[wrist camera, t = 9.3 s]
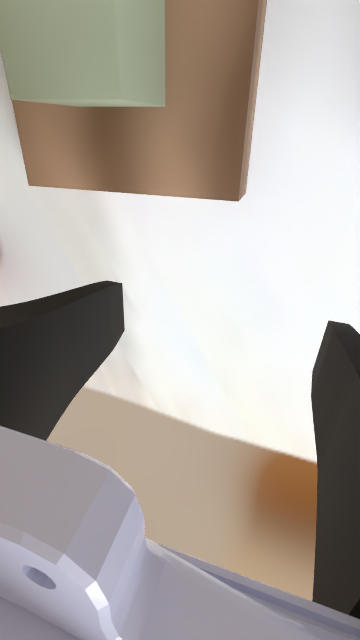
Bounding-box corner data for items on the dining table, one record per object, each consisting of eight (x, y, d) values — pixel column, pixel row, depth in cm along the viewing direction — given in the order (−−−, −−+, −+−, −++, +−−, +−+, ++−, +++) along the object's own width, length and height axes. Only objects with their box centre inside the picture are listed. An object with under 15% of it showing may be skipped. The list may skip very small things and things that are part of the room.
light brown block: (284, -159, 12) (280, -218, 10) (245, 192, 18) (238, 201, 16) (10, -106, 15) (-36, -143, 13) (55, 180, 21) (28, 185, 19)
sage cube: (164, -33, 13) (108, -101, 9) (165, 106, 15) (120, 98, 11) (63, -22, 14) (-25, -78, 10) (78, 106, 16) (11, 99, 12)
